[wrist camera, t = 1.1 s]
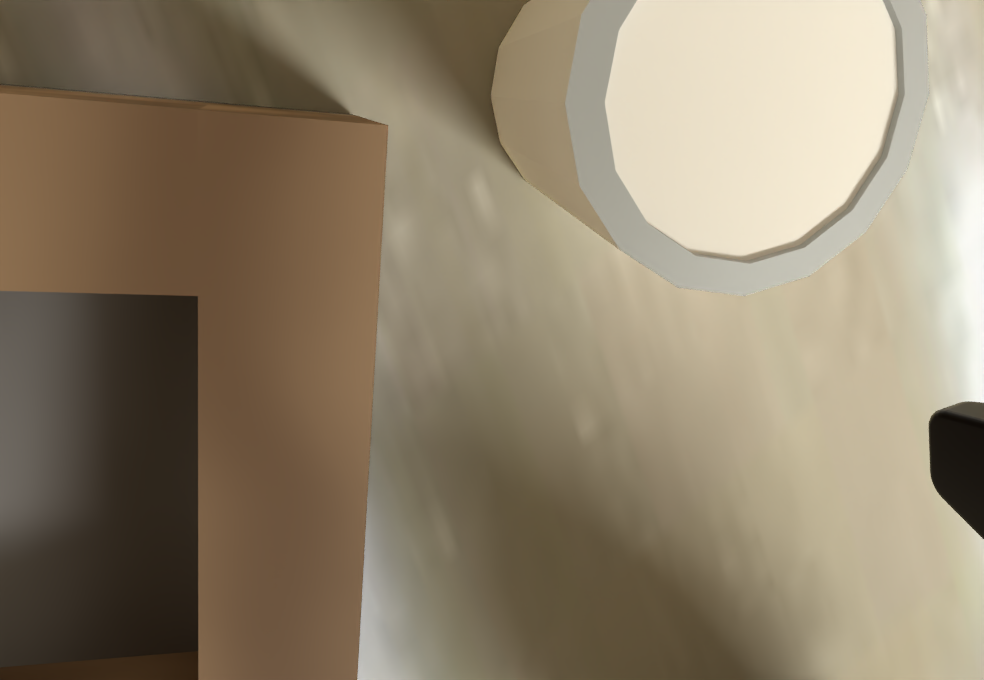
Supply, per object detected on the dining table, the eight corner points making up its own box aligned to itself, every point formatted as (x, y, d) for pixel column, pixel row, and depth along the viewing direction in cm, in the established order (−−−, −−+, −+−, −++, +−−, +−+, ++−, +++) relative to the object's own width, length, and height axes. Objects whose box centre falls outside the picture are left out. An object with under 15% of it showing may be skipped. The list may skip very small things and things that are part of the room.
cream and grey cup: (416, 11, 19) (501, -26, 13) (681, -110, 20) (888, -203, 13) (530, 279, 22) (649, 364, 15) (761, 163, 22) (968, 195, 16)
